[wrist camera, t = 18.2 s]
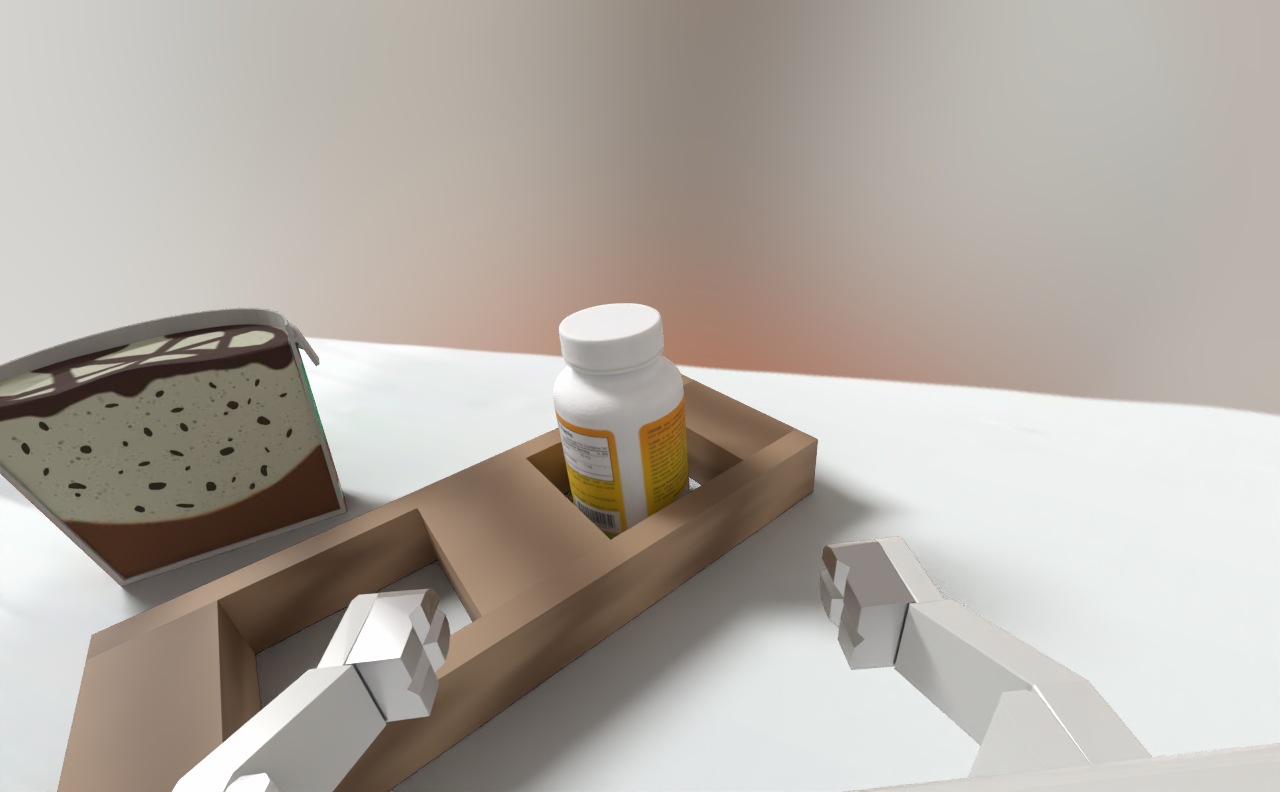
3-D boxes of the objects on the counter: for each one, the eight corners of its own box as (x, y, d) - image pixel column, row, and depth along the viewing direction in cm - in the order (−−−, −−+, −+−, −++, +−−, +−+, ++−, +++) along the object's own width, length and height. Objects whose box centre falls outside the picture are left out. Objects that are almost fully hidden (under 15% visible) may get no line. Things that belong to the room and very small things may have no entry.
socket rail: (108, 989, 12) (23, 941, 11) (141, 688, 19) (91, 635, 18) (813, 491, 25) (817, 439, 24) (682, 417, 32) (680, 373, 30)
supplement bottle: (679, 469, 28) (667, 289, 23) (702, 544, 23) (693, 336, 18) (576, 485, 27) (542, 305, 22) (577, 563, 22) (536, 357, 18)
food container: (374, 445, 32) (310, 286, 27) (378, 501, 27) (301, 321, 23) (127, 517, 28) (0, 346, 23) (79, 600, 23) (-96, 404, 18)
